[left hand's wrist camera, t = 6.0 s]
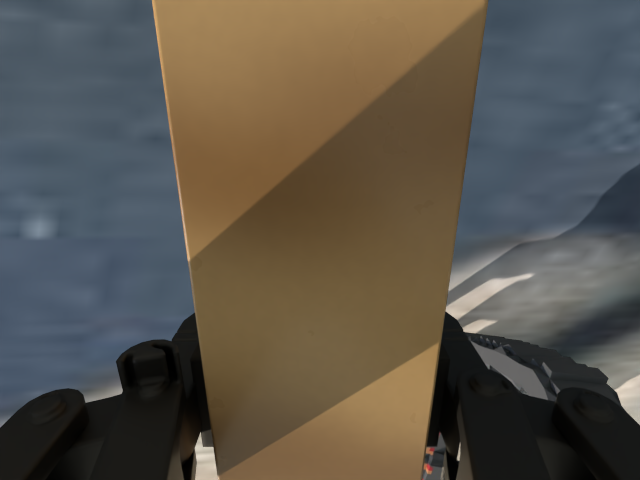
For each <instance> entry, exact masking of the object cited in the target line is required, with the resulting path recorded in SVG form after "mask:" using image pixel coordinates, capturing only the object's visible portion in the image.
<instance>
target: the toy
mask: <svg viewBox="0 0 640 480" xmlns="http://www.w3.org/2000/svg"><path fill="white" fill-rule="evenodd" d="M465 333H466V332H465ZM466 335H467V337H468V338H469V340H470V341H471V343H472V344H473V346H474V347H475V349H476V351H477V352H478V354H479V355H480V357H481V358H482V360H483V361H484V363H485V365H486V366H487V368H488V369H490V370H493V371H495V372H497V373H499V374H501V375H503V376H505V377H506V378H507V379H508V380H509V381H511V382H512V383H513V385H514V387H515V388H516V390H517V392H519V393H521V392H520V391H526V393H527V394H528V395H529V396H533V397H537V398H541V399H546V400H550V401H555V400H556V397H557V393H559V392H560V391H561V390H562V389H564V388H569V387H576V388H585V389H588V390H591V391H594V392H597V393H599V394H601V395H603V396H605V397H607V398H609V399H611V400H612V401H614V402H615V403H616V404H617V405H619V406H620V407H621V408H622V409H623V407H622V406H621V403H620V400H619V398H618V395H617V393H616V392H615V391H614V390H613V389H612V388H611V387H610V386H609V385H608V384H606V383H607V380H608V377H607V376H606V375H604V374H603V373H602V372H601V371H600V370H599V369H598V368H591V367H587V366H586V365H585V364H577V363H575V362H574V361H573V360H572V359H571V358H570V357H562V356H561V355H560V354H559V353H558V352H557V351H556V350H551V349H546V348H540V347H539V346H538V345H533V344H530V343H527V342H523V341H520V340H512V339H505V338H504V337H497V336H489V335H482V334H474V333H466ZM445 448H446V445H445V443H444V440H443V437H442V435H441V432H439V438H438V445H437V447H427V448H426V455H425V462H424V469H423V477H422V480H440V479H441V473H442V466H443V460H444V454H445Z"/></svg>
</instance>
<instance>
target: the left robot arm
mask: <svg viewBox="0 0 640 480" xmlns="http://www.w3.org/2000/svg"><path fill="white" fill-rule="evenodd" d="M116 363H117V368H118V372H119V376H120V380H121V384H122V389H123V392H122V394H120V395H117V396H113V397H110V398H105V399H101V400H97V401H92V402H88V403H85V399H84V396H83V394H82V393H81V392H79V391H78V390H74V389H69V388H68V389H60V390H55V391H52V392H49V393H46V394H43V395H41V396H39V397H37V398H35V399H33V400H31V401H29V402H28V403H27V404H25V405H24V406H23V407H22V408H20V409H19V410H18V411H17V412H16V413H15V414H14V415H13V416H12V417H11V418H10V419H9V420H8V421H7V422H6V423H5V424H4V425H3V426H2V427H1V428H0V480H195V474H196V463H197V461H196V454H195V445H196V443H197V440H198V437H199V434H200V432H201V437H202V443H203V447H214V446H213V439H212V432H211V424H210V417H209V410H208V403H207V395H206V388H205V381H204V374H203V366H202V359H201V352H200V345H199V337H198V330H197V323H196V316H195V313H194V314H192V315H191V316H190V317H188V318H187V319H186V320H184V321H183V323H182V324H181V326H180V328H179V329H178V331H177V333H176V334H175V335H174V337H173V339H172V341H168V340H151V341H146V342H142V343H140V344H137V345H135V346H133V347H131V348H129V349H128V350H126V351H125V352H124V353H122V354H121V355H120V357H119V358H118V359H117V361H116ZM439 432H441V435H442V437H443V440H444V443H445V445H446V448H445V454H444V460H443V466H442V473H441V479H440V480H640V425H639V424H638V423H637V422H636V421H635V420H634V419H633V418H632V417H631V416H630V415H629V414H628V413H627V412H626V411H625V410H624V409H622V408H621V407H620V406H619V405H617V404H616V403H615V402H614V401H612V400H611V399H609V398H607V397H605V396H603V395H601V394H599V393H597V392H594V391H591V390H588V389H585V388H576V387H569V388H564V389H562V390H561V391H560V392H559V393H557V397H556V400H555V401H550V400H546V399H541V398H537V397H533V396H528V395H525V394H522V393H519V392H517V390H516V388H515V387H514V385H513V383H512V382H511V381H509V380H508V379H507V378H506V377H505V376H503V375H501V374H499V373H497V372H495V371H493V370H490V369H488V368H487V366H486V365H485V363H484V361H483V360H482V358H481V357H480V355H479V354H478V352H477V351H476V349H475V347H474V346H473V344H472V343H471V341H470V340H469V338H468V337H467V335H466V333H465V332H463V329H462V327H461V326H460V324H459V323H458V321H457V320H456V319H455V318H454V317H452V316H451V315H450V314H448V313H447V312H445V317H444V324H443V332H442V339H441V346H440V353H439V361H438V368H437V375H436V382H435V390H434V397H433V404H432V411H431V419H430V426H429V433H428V440H427V447H437V445H438V438H439Z"/></svg>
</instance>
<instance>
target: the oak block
mask: <svg viewBox="0 0 640 480" xmlns="http://www.w3.org/2000/svg"><path fill="white" fill-rule="evenodd" d="M152 4H153V11H154V18H155V25H156V33H157V40H158V47H159V54H160V62H161V69H162V76H163V83H164V91H165V98H166V105H167V112H168V120H169V127H170V134H171V141H172V149H173V156H174V163H175V170H176V178H177V185H178V192H179V200H180V207H181V214H182V221H183V229H184V236H185V243H186V250H187V258H188V265H189V272H190V279H191V287H192V294H193V301H194V308H195V316H196V323H197V330H198V337H199V345H200V352H201V359H202V366H203V374H204V381H205V388H206V395H207V403H208V410H209V417H210V424H211V432H212V439H213V446H214V453H215V461H216V468H217V475H218V480H422V477H423V469H424V462H425V455H426V448H427V440H428V433H429V426H430V419H431V411H432V404H433V397H434V390H435V382H436V375H437V368H438V361H439V353H440V346H441V339H442V332H443V324H444V317H445V310H446V303H447V296H448V288H449V281H450V274H451V267H452V259H453V252H454V245H455V238H456V230H457V223H458V216H459V209H460V201H461V194H462V187H463V180H464V172H465V165H466V158H467V151H468V143H469V136H470V129H471V122H472V114H473V107H474V100H475V93H476V86H477V78H478V71H479V64H480V57H481V49H482V42H483V35H484V28H485V20H486V13H487V6H488V0H152Z"/></svg>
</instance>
